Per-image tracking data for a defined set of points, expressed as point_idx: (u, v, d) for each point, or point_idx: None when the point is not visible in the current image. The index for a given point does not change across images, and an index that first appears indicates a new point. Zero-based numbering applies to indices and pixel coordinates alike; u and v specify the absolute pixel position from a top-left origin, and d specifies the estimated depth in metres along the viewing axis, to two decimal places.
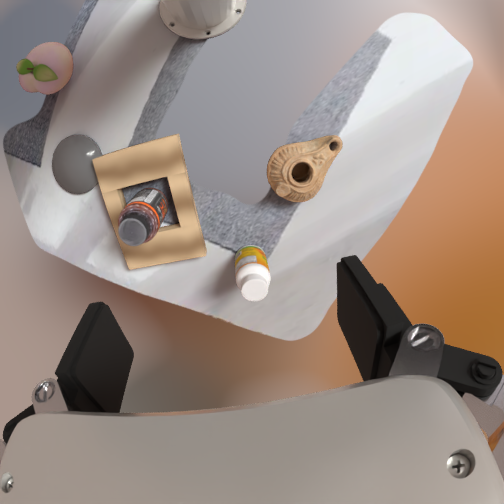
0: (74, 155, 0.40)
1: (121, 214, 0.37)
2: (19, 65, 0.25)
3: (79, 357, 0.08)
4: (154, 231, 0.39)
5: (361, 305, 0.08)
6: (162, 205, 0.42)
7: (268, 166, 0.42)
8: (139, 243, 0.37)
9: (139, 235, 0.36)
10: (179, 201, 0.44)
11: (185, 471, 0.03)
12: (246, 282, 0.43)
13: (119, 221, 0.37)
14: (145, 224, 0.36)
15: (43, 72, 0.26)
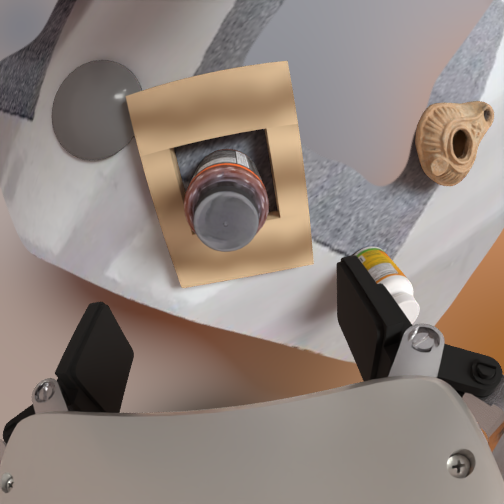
0: (92, 94, 0.22)
1: (195, 186, 0.19)
2: None
3: (79, 357, 0.08)
4: (261, 222, 0.20)
5: (361, 305, 0.08)
6: None
7: (420, 129, 0.23)
8: (239, 246, 0.19)
9: (243, 229, 0.18)
10: (284, 173, 0.26)
11: (185, 471, 0.03)
12: None
13: (189, 201, 0.19)
14: (255, 206, 0.18)
15: None
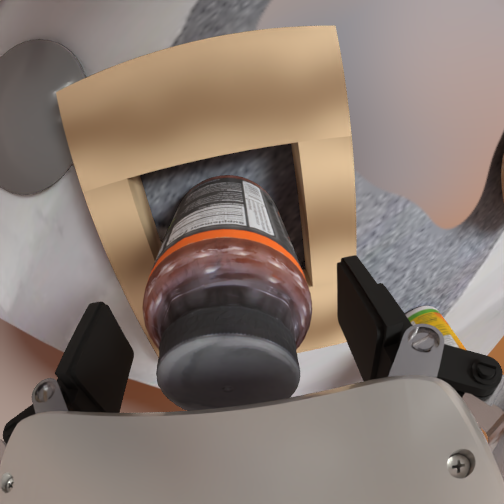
0: (17, 93, 0.11)
1: (158, 288, 0.09)
2: None
3: (79, 357, 0.08)
4: (297, 346, 0.10)
5: (361, 305, 0.08)
6: None
7: None
8: None
9: (265, 394, 0.08)
10: (324, 219, 0.15)
11: (185, 471, 0.03)
12: None
13: (150, 314, 0.09)
14: (293, 345, 0.08)
15: None
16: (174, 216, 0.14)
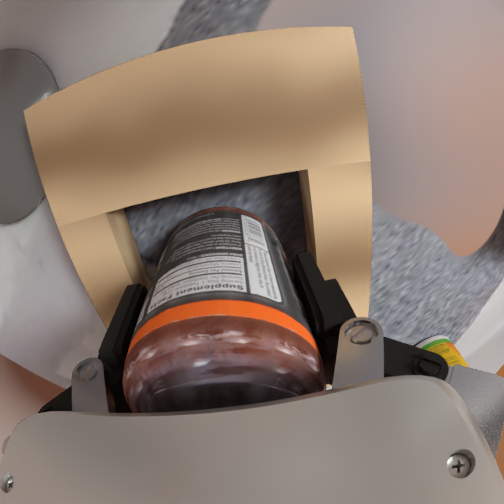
0: None
1: (137, 375, 0.06)
2: None
3: (124, 335, 0.09)
4: None
5: (306, 298, 0.09)
6: (293, 278, 0.12)
7: None
8: None
9: None
10: (335, 257, 0.13)
11: (185, 471, 0.03)
12: None
13: (131, 398, 0.07)
14: None
15: None
16: (160, 260, 0.11)
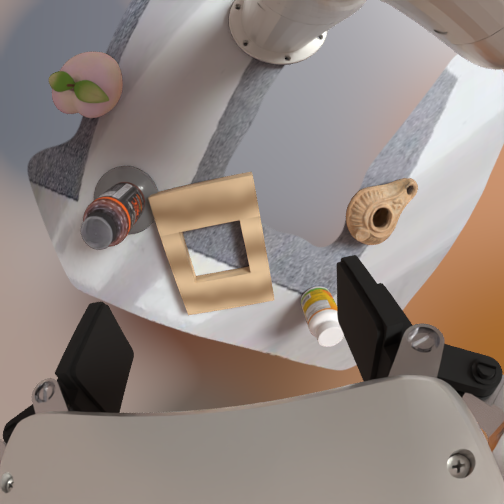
0: None
1: (86, 212, 0.30)
2: (53, 79, 0.23)
3: (79, 357, 0.08)
4: (123, 231, 0.31)
5: (361, 305, 0.08)
6: (136, 201, 0.35)
7: (348, 210, 0.39)
8: (105, 246, 0.29)
9: (104, 236, 0.29)
10: (251, 246, 0.42)
11: (185, 471, 0.03)
12: (324, 330, 0.40)
13: (84, 220, 0.30)
14: (111, 223, 0.29)
15: (90, 91, 0.24)
16: None
